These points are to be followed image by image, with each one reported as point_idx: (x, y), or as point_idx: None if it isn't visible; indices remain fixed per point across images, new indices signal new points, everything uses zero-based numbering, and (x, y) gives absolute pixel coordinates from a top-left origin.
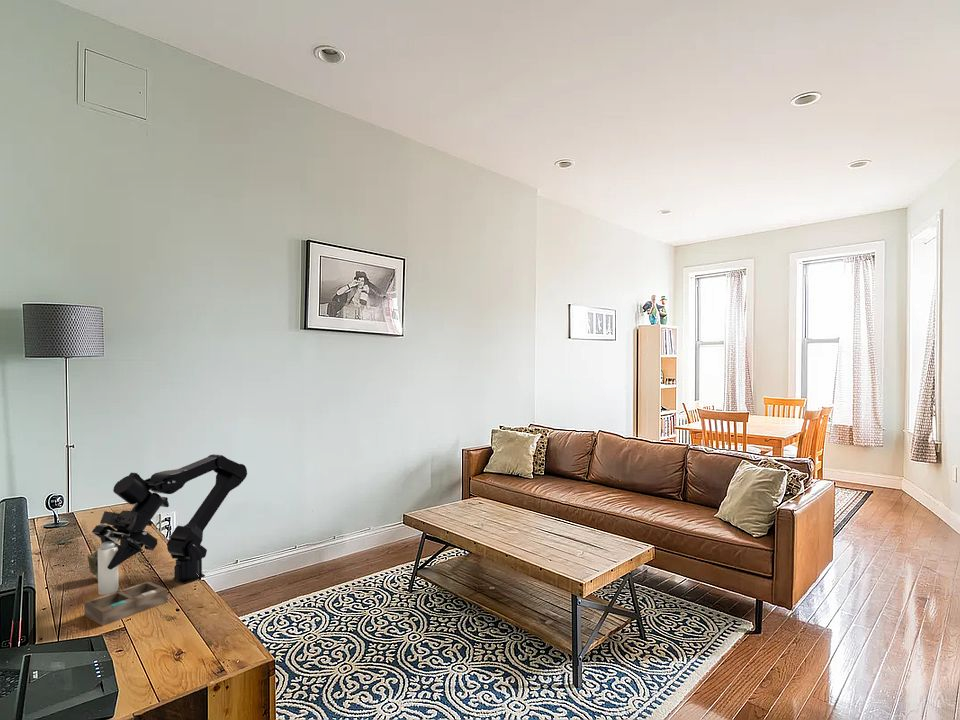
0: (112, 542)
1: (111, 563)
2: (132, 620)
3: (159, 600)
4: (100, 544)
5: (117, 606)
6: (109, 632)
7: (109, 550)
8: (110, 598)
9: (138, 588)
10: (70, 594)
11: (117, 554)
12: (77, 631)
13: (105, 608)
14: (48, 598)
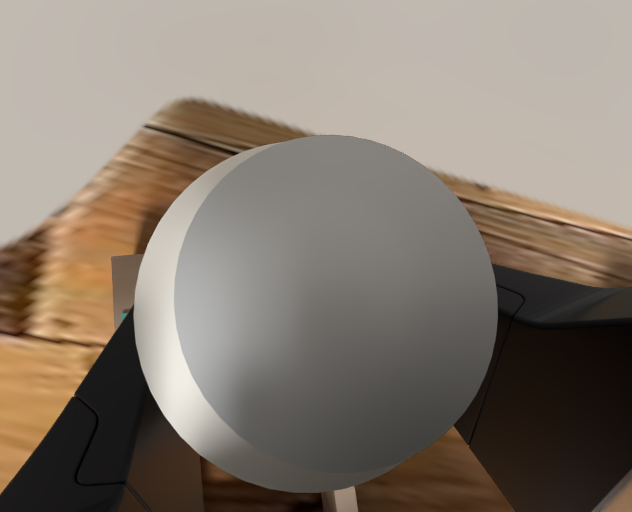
0: (305, 393)
1: (132, 309)
2: (68, 381)
3: None
4: (371, 143)
5: (115, 331)
6: (27, 268)
7: (140, 278)
8: None
9: (332, 497)
10: (556, 278)
11: (84, 399)
12: (167, 190)
13: None
14: (564, 219)
